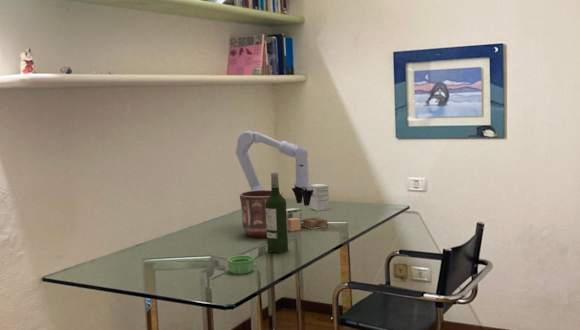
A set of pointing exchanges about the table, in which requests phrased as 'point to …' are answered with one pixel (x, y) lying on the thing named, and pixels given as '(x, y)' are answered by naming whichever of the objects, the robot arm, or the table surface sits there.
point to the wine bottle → (276, 219)
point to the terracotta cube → (293, 224)
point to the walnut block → (315, 222)
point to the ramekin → (240, 264)
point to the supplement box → (319, 197)
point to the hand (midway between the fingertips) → (303, 204)
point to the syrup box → (294, 213)
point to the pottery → (255, 212)
